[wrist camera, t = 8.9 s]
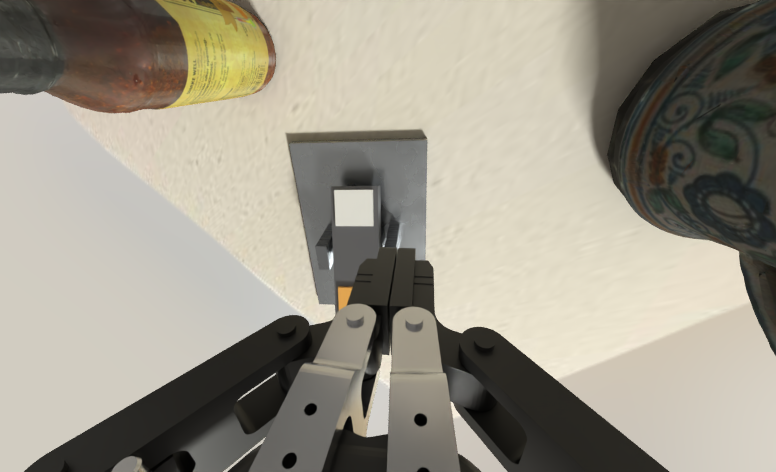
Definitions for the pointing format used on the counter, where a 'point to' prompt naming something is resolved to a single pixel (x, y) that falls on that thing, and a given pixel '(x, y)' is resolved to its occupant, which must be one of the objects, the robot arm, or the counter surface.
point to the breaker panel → (361, 168)
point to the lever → (353, 234)
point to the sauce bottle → (133, 52)
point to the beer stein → (710, 144)
